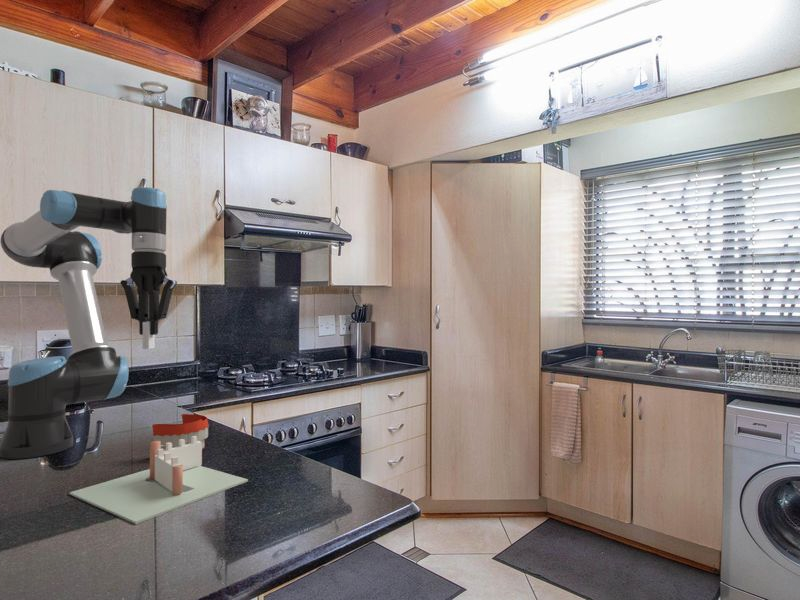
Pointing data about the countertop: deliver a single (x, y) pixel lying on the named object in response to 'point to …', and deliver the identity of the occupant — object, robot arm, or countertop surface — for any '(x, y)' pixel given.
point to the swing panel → (168, 471)
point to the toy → (182, 430)
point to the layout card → (154, 493)
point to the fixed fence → (178, 454)
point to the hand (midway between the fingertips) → (148, 348)
